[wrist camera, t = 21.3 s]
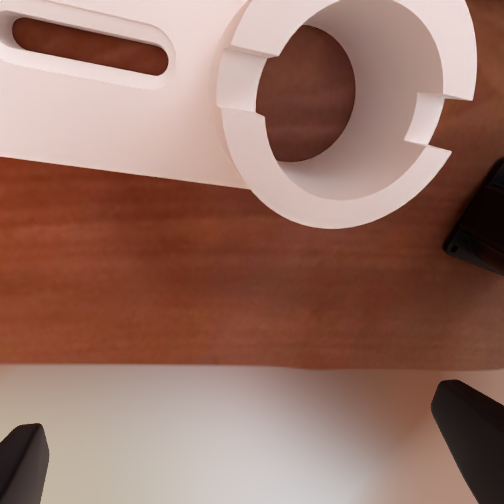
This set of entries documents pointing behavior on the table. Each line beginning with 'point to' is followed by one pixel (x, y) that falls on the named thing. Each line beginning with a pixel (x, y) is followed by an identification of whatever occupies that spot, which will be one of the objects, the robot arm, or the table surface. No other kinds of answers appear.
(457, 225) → the robot arm
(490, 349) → the table surface
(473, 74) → the bracket
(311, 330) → the table surface
